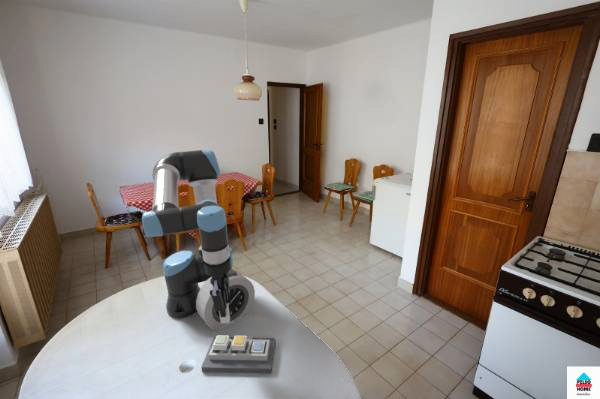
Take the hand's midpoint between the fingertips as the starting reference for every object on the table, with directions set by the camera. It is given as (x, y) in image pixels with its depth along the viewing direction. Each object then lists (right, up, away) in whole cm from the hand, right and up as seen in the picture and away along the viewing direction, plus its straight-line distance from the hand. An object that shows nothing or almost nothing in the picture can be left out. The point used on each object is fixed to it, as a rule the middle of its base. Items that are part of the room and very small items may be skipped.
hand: (225, 321), depth 90 cm
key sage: (-2, -9, +2) cm, 9 cm away
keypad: (+4, -13, +4) cm, 14 cm away
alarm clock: (-4, -7, +21) cm, 23 cm away
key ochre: (+4, -9, +2) cm, 10 cm away
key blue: (+10, -11, +3) cm, 15 cm away
